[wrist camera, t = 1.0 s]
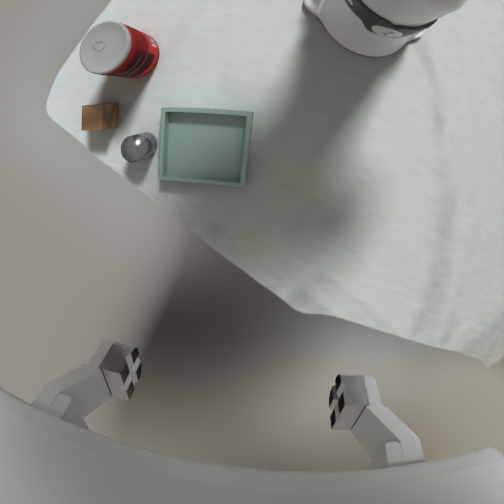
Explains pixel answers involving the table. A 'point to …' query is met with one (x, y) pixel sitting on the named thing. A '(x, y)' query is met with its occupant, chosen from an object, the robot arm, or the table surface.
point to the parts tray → (205, 146)
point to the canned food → (118, 51)
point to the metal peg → (138, 146)
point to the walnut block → (99, 116)
